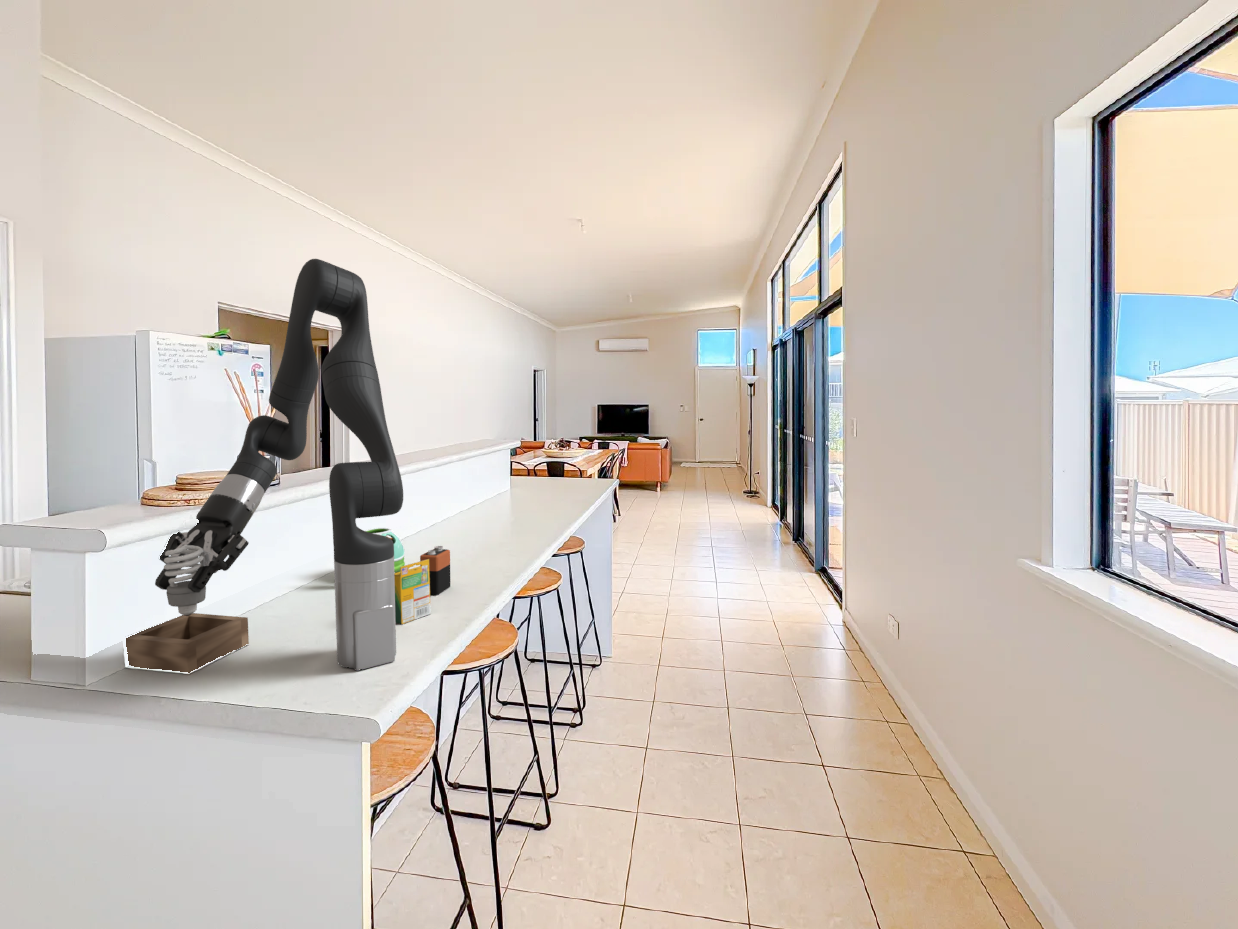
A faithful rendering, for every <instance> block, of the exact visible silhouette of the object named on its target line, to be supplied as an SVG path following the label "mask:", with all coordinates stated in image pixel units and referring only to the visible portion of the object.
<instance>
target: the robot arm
mask: <svg viewBox="0 0 1238 929" xmlns="http://www.w3.org/2000/svg"><path fill="white" fill-rule="evenodd" d="M367 294H368V293H367V290H366V285H365V283H364V281H363V279H362V277H360V276H359V275H358V274H356V273H354V271H353V272H352V271H350V270H347V269H345V268H343V267H340V266H337V265H334V264H333V263H331V262H328V261H325V260H322V259H319V258H311V259H309V260H307V261H306V262H305V263H304V265H303V266H302V268H301V270H300V271H299V274H298V276H297V278H296V283H295V287H294V291H293V297H292V301H291V307H290V313H289V317H288V324H287V330H286V336H285V341H284V342H285V343H284V348H283V353H282V355H281V356H282V357H281V360H280V365H279V367H278V370H277V373H276V376H275V380H274V382H273V384H272V387H271V391H270V393H269V397H268V404H270V406H271V407H272V408H273V409H274V410H276V411H278V412H279V413H281V414H282V415H284V416H285V417H286V420H287V422H286V421H283V420H280V419H277V418H275V417H272V416H270V415H265V414H264V415H263V414H262V415H259V416H256V417H255V418H252V420H251V421H250V422H249V424H248V425H247V429H246V431H245V435H244V441H243V444H242V446H241V449H240V452H239V454H238V457H237V459H236V460H235V462H234V463H233V465H232V466H231V468H230V469H229V470H228V472H227V474H226V475H225V476H224V477H223V479H222V480H221V481H220V482H219V483H218V484H217V485H216V486H215V488H214V489H213V491H212V493H211V494H209V496H208V498H207V499H206V501H205V502H204V503H203V505H202V506H201V508H200V509H199V511H198V512H197V513H196V515H195V517H196V518H195V519H198V520H199V523H197V525H196V524H195V525H196V526H195V525H194V526H193V527H192V528H190V529H189V530H188V531H186V532H181V531H179V532H178V533H177V534H173V535H172V536H171V537H170V536H169V537H170V539H169V538H168V539H169V541H168V540H167V541H168V544H167V546H166V549H165V550H164V552H163V553H162V555H161V556H160V555H159V556H160V559H159V561H161V562H162V563H164V565H166V564H170V563H166V562H164V559H165V558H167V557H173V556H184V555H188V554H174V555H169V556H166V555H165V552H166V551H168V550H175V549H178V548H180V547H182V546H184V545H194V546H198V547H201V548H202V549H203V555H204V559H203V563H202V565H203V567H200V568H199V569H198V570H197V572H196V573H195V575H194V576H193V578H192V579H190V580H189V581H190V582H189V584H188V588H189V589H190V590H191V591H193V592H197V593H199V592H200V591H201V590H202V589H203V588H204V587H205V586H206V587H207V584H208V582H209V581H210V580H211V578H212V576H213V574H216V573H217V572H219V571H224V572H226V571H228V570H229V569H230V568H231V567H232V566H233V564H234V563H235V562H236V561H237V559H238V558H239V557H240V555H241V554H242V553H243V552H244V551H245V549H246V548H247V547H248V545H249V541H248V540H247V539H246V538H245V537H244V536H242V535H241V534H242V533H243V531H244V530H245V528H246V527H247V525H248V523H249V522H250V521H251V520H252V519H251V518H252V517H253V516H254V514H255V513H256V511H257V509H258V508H259V507H260V504H261V502H262V500H263V498H264V495H265V493H267V491H268V489H269V487H270V485H271V484H272V482H273V481H274V479H275V477H276V475H277V472H278V468H277V466H276V464H275V463H274V462H273V461H272V460H270V459H269V458H267V457H266V456H264V455H263V454H261V453H260V452H262V453H265V454H268V455H271V456H273V457H277V458H278V459H282V460H285V461H294V460H297V459H298V458H299V457H300V456H301V455H302V454H303V452H304V451H305V448H306V445H307V437H308V436H307V435H308V432H307V431H308V428H307V426H308V415H309V409H310V405H311V402H312V400H313V398H314V394H315V391H316V388H317V385H318V383H319V382H318V381H319V375H320V372H319V371H321V379H322V386H323V392H324V394H323V395H324V397H325V402H326V404H327V406H328V408H329V409H330V411H332V413H333V414H334V415H335V416H336V417H337V419H338V420H339V421H340V422H341V423H342V424H343V425H344V426H345V427H347V429H349V430H350V431H351V432H352V433H353V434H354V435H355V437H357V438H358V440H359V441H360V443H361V444H362V445H363V447H364V448H365V451H366V452H367V454H368V457H369V459H370V461H354V462H353V461H352V462H349V461H348V462H339V463H336V464H334V465H333V466H332V468H331V470H330V473H329V482H328V487H329V488H328V490H329V502H330V510H331V521H332V522H331V523H332V542H333V565H334V566H333V568H334V569H333V571H334V572H333V573H334V575H333V576H334V599H335V600H334V602H335V603H334V605H335V606H334V608H335V635H336V636H335V637H336V638H335V639H336V657H337V658H336V659H337V660H336V661H337V664H338V663H339V664H338V665H339V666H341V667H343V666H344V668H347V667H349V668H348V669H354V670H355V669H356V670H355V671H360V670H359V669H362V670H364V669H369V668H373V667H376V666H380V665H381V666H382V665H384V664H388V663H391V662H392V663H393V662H394V661H396V655H397V629H396V628H397V627H396V626H397V625H396V624H397V623H396V621H395V579H394V543H393V541H392V540H391V539H390V538H391V537H389V536H387V537H386V536H382V535H378V534H373V533H369V532H366V531H365V530H363V529H362V528H359V526H357V520H356V519H366V518H373V517H375V518H377V517H385V516H393V515H395V514H398V513H399V512H400V511H401V509H402V507H403V503H404V486H403V480H402V474H401V472H400V468H399V464H398V459H397V458H396V454H395V450H394V447H393V444H392V439H391V437H390V433H389V428H388V424H387V421H386V415H385V408H384V404H383V403H384V402H383V396H382V388H381V384H380V379H379V373H378V369H377V365H376V361H375V356H374V351H373V344H372V340H371V338H372V337H371V331H370V322H369V321H370V320H369V308H368V296H367ZM315 311H316V312H319V313H322V314H325V315H327V316H328V315H329V316H331V317H334V318H336V319H337V320H338V321H339V323H340V328H341V329H340V330H341V335H340V337H339V339H338V341H336V343H335V344H334V346H332V347H331V349H330V350H329V352H328V353H327V355H326V356H325V358H324V360H323V361H322V364H321V368H320V369H321V370H320V369H319V364H318V358H317V354H316V352H315V351H316V350H315V347H314V344H313V340H312V339H313V338H312V320H313V318H314V314H315ZM388 537H389V538H388ZM188 550H190V549H188ZM196 557H199V556H196ZM226 558H227V559H226ZM188 561H189V560H183V561H178V562H171V563H180V562H188ZM178 569H182V568H178ZM169 570H176V569H169ZM169 570H167V569H164V568H163V569H162V570H161V572H159V574H158V576H157V577H156V579H155V582H154V585H155V586H156V587H157V588H158V589H160V590H162V591H164V590H165V591H167V587H168V586H170V583H169V579H171V578H177V576H178V575H176V576H166V575H165V572H166V571H169Z"/></svg>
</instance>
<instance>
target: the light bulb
mask: <svg viewBox="0 0 1238 929" xmlns="http://www.w3.org/2000/svg"><path fill="white" fill-rule="evenodd" d="M189 549H190V550H189ZM174 554H188V555H184V556H173V557H167V558H165V559H164V562H166V563H170V564H164V565H163V569H167V570H169V569H176V570H169V571H166V572H165V575H166V576H176V575H177V576H179V577H177V576H176V578H171V579H169V583H170V586H168V587H167V590H166V597H167V602H168V605H169V606H170V607H174V608H175V607H176V608H177V609H178V614H181V616H182V615H185V616H189V615H191V614H192V613H196V611H197V608H198V607H197V606H198V604H199V603H202V602H204V601H205V599H206V595H207V585H206V586H205V587H204V588H203V589H202V590H201V591H200V592H199V593H197V592H193V591H191V590H190V589H189V588H188V584H189V582H190V581H191V579H192V578H193V576H194V575H195V573H196V572H197V570H198V569H199V568H200V567H203V565H202V563H203V559H204V555H203V549H202V548H201V547H198V546H194V545H184V546H182V547H180V548H178V549H175V550H168V551H166V552H165V555H166V556H171V555H174ZM196 556H199V557H196ZM183 560H189V561H188V562H180V563H171V562H179V561H183ZM164 562H163V563H164ZM178 568H181V569H178ZM182 575H183V576H182Z"/></svg>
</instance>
